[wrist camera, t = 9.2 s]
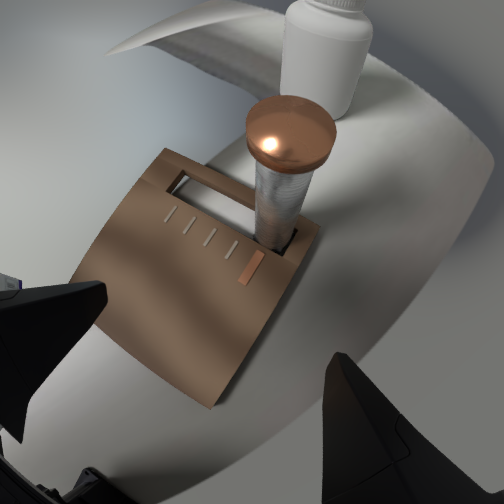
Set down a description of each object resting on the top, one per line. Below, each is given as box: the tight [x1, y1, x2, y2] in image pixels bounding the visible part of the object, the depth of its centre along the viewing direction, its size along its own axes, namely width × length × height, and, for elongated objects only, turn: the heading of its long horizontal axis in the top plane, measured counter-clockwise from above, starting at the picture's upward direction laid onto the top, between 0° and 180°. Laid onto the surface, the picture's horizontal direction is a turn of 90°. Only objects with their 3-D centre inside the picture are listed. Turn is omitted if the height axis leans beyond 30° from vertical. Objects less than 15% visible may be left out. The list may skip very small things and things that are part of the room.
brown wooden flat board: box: [68, 148, 321, 410], centre depth 22 cm, size 16×16×1 cm
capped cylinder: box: [246, 95, 337, 254], centre depth 16 cm, size 4×4×13 cm
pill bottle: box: [280, 0, 373, 120], centre depth 20 cm, size 8×8×15 cm
